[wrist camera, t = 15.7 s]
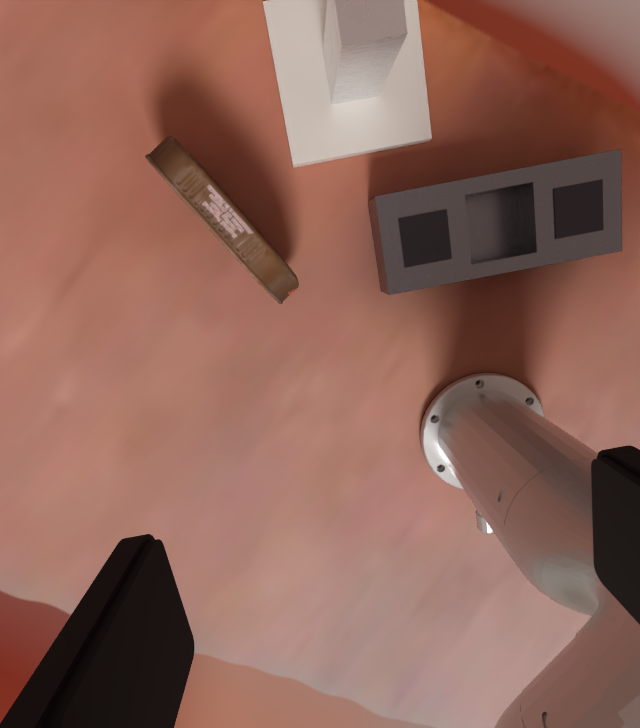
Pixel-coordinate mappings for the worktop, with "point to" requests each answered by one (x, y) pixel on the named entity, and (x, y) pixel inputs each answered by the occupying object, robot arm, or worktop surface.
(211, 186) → the tin
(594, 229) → the grey compartment holder
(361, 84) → the steel block
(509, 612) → the worktop surface
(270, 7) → the pad
